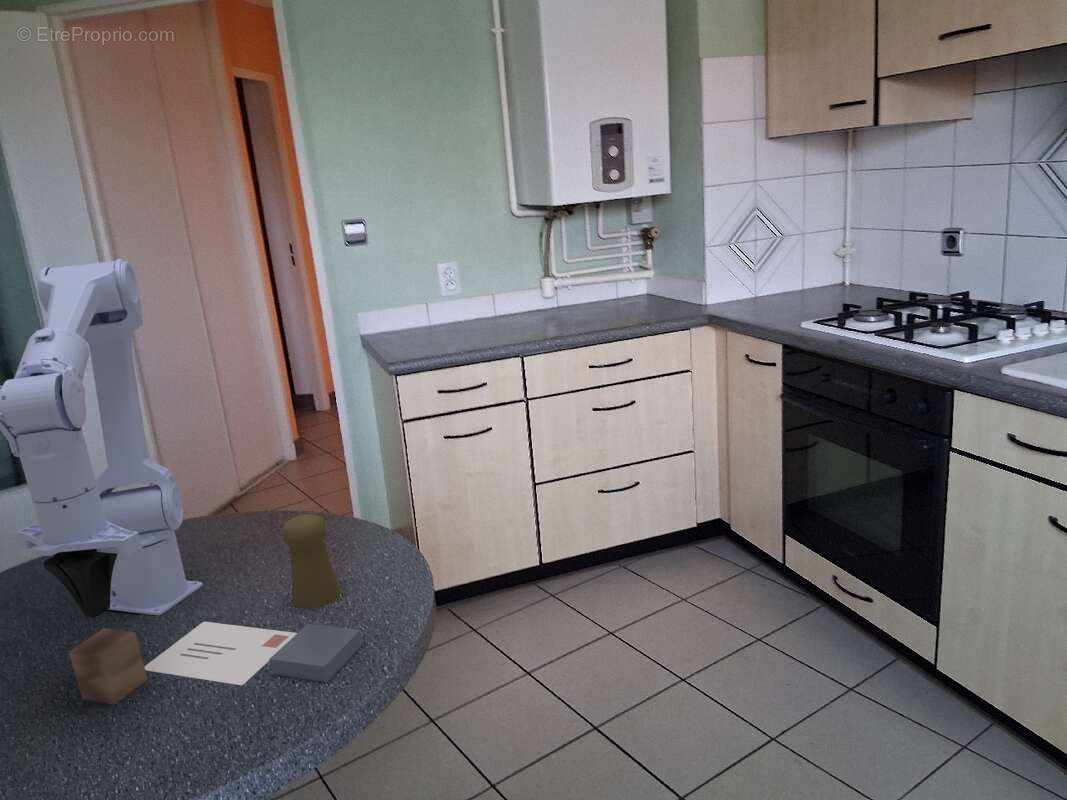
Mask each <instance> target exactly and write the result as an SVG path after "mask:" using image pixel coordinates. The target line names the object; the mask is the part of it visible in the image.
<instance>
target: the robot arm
mask: <svg viewBox="0 0 1067 800" xmlns="http://www.w3.org/2000/svg"><path fill="white" fill-rule="evenodd" d="M36 287H37V288H36V289H37V293H38V297H39V301H40V304H41V305H42V307H43V310H44V311H45V312H46V317H45V321H44V323H45V324H44V327H43V328H42V329H37V330H36V331H35V332H34V333H33V334H31V336H30V337H29V339H28V341H27V343H26V347H25V349H24V350H23V353H22V357H21V359H20V362H19V364H18V367H17V370H16V372H15V375H14V377H13V378H10V379H7V380H6V381H5V380H4V381H5V382H4V383H3V385H0V432H1V433H2V435H3V436H4V437H5V438H6V440H7V442H8V444H9V447H10V451H11V454H13V456H14V457H17V458H19V459H20V462H21V466H22V469H23V472H24V476H25V480H26V483H27V486H28V491H29V494H30V497H31V500H32V504H33V508H34V510H35V514H36V518H37V521H38V524H37V523H36V524H35V523H32V524H30V525H28V526H25V527H24V528H22V529H20V530H18V531H17V532H16V535H17V539H18V542H19V545H20V549H23V550H30V549H31V548H33V547H35V548H36V549H35V551H36V554H37V555H38V556H43V557H44V556H45V557H49V558H47V559H46V560H45V561H44V562H43V567H44V569H45V570H47V571H48V572H49V573H51V574H52V575H53V576H54V578H57V580H58V581H59V582H60V583H61V584H62V585H63V586H64V587H65V588H66V590H67V591H68V592H69V594H70V595H71V597H72V598H73V599H74V601H75V603H76V604H77V606H78V607H79V609H80V610H81V612H82V614H83V615H84V616H85V617H88V618H97V617H98V616H101V615H102V614H103V613H105V612H106V611H108V610H111V611H119V612H124V613H125V612H127V613H134V614H141V615H142V614H144V615H149V616H150V615H151V616H152V615H153V616H160V615H163V614H164V613H166V612H167V611H169V610H170V609H172V608H173V607H174V606H176V605H177V604H179V603H181V602H182V601H183V600H185V599H186V598H187V597H188V596H190V595H191V594H193V593H194V592H196V591H197V590H199V589H200V588H201V587H203V585H204V584H203V582H202V581H196V580H195V581H194V580H187V578H186V574H185V570H184V566H183V562H182V561H183V560H182V558H181V554H180V548H179V545H178V539H177V537H176V532H175V531H177V530H178V529H180V526H181V525H182V523H183V521H184V506H183V500H182V496H181V492H180V490H179V487H178V484H177V478H176V476H175V474H174V472H173V471H171V469H169V468H167V467H166V466H163V465H161V464H159V463H157V462H155V461H154V460H151V459H150V458H149V452H148V447H147V440H146V433H145V426H144V421H143V420H144V419H143V414H142V407H141V400H140V396H139V395H140V394H139V388H138V383H137V374H136V369H135V360H134V356H133V342H132V341H133V338H132V337H133V336H132V335H133V333H134V332H136V331H137V330H138V329H140V328H141V327H143V325H144V323H143V317H144V315H143V314H144V313H143V306H142V301H141V294H140V288H139V283H138V280H137V276H136V274H135V271H134V269H133V267H132V266H131V264H130V263H129V262H127V261H126V260H125V259H123V258H118V259H116V260H113V261H103V262H93V263H84V264H78V265H77V264H75V265H68V266H67V265H66V266H58V267H52V266H44V267H42V269H41V270H40V272H39V274H38V276H37V281H36ZM89 357H90V358H91V367H92V373H93V379H94V387H95V393H96V399H97V405H98V412H99V419H100V424H101V431H102V437H103V438H102V439H103V444H104V449H105V450H104V451H105V456H106V457H105V458H106V463H107V467H106V469H105V470H103V472H102V473H100V474H99V475H98V477H95V473H94V470H93V466H92V461H91V458H90V454H89V449H88V447H87V443H86V440H85V439H86V438H85V435H84V431H83V428H82V427H83V426H84V424H85V421H86V418H87V408H86V407H87V406H86V388H85V386H84V384H83V379H84V377H85V373H86V368H87V366H88V365H87V364H88V361H89ZM144 483H153V485H152V484H151V485H147V486H142V487H135V488H130V489H123V490H117V491H114V490H115V489H117V488H120V487H126V486H132V485H133V486H134V485H139V484H144Z"/></svg>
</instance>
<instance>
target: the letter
mask: <svg viewBox="0 0 1067 800" xmlns="http://www.w3.org/2000/svg"><path fill="white" fill-rule="evenodd" d="M297 633H298V632H291V631H283V630H275V629H268V628H261V627H259V628H258V627H252V626H251V627H250V626H245V625H244V626H243V625H235V624H227V623H219V622H211V621H203V622H201V623H200V624H198V626H196V627H195V628H193V629H192V630H191V631H189V632H188V633H187V634H185V635H184V636H183V637H181V638H180V639H179V640H177V641H176V642H175V643H173V644H172V645H171V646H170V647H168V648H166V649H165V651H163V652H161V653H160V654H159V655H158V656H156V657H155V658H154V659H152V660H151V661H150V662H148V663H147V664H146V665H144V667H145V671H146V672H153V673H159V674H167V675H173V676H178V677H184V678H190V679H191V678H192V679H199V680H205V681H211V682H216V683H217V682H218V683H224V684H230V685H237V686H244V684H246V683H247V682H248V681H249V680H250V679H251V678H252V677H254V676H255V675H256V673H258V672H259V671H260V670H261V669H262V668H263V667H264V666H265V665H267V664H268V663H270V660H269V659H270V658H271V657H272V656H273V655H274V654H275V653H276V652H278V651H279V650H280V649H281V648H282V647H283V646H284V645H285V644H286V643H287V642H288V641H290V640H291V639H292V638H293V637H294V636H295V635H296V634H297Z"/></svg>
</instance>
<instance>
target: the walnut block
mask: <svg viewBox="0 0 1067 800" xmlns="http://www.w3.org/2000/svg"><path fill="white" fill-rule="evenodd" d="M68 654H69V658H70V660H71V664H72V668H73V671H74V674H75V679H76V681H77V685H78V687H79V691H80V695H81V698H82V700H86V701H92V702H97V703H102V704H108V705H114V706H115V705H117V704H118V703H119V702H120V701H122V699H124V698H126V697H127V696H128V695H129V694H131V692H133V691H134V690H135V689H137V688H138V687H139V686H141V685H142V684H143V683H145V682H146V681H147V680H148V676H147V671H146V670H145V662H144V660H143V656H142V652H141V648H140V644H139V641H138V638H137V633H136V632H133V631H127V630H125V631H124V630H118V629H111V628H106V627H105V628H102V629H101V630H99V631H98V632H96V633H95V634H94V635H92V636H91V637H89V638H87V639H86V640H84V641H83V642H81V643H80V644H79V645H77V646H76V647H74V648H72V649H70V650H69V651H68Z"/></svg>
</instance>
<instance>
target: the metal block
mask: <svg viewBox="0 0 1067 800" xmlns="http://www.w3.org/2000/svg"><path fill="white" fill-rule="evenodd" d="M296 633H297V634H296V635H295V636H294V637H293V638H292V639H291V640H290V641H288V642H287V643H286V644H285V645H284V646H283V647H282V648H281V649H280V650H279V651H278V652H276V653H275V654H274V655H273V656H272V657H271V658H270V659H269V660H270V661H269V663H270V664H269V666H270V669H271V674H272V675H274V676H280V677H281V676H282V677H289V678H295V679H301V680H308V681H316V682H321V683H329V682H330V681H331V679H333V677H334V676H335V675H336V674H337V673H339V671H340V670H341V669H342V668H343V667H344V666H345V665H346V664H347V662H349V661H350V660H351V659H352V657H353V656H354V655H355V654H356V653H357V652H358V651H359V650H361V649H360V648H361V647H362V646H363V645H364V643H363V637H362V633H361V629H355V628H346V627H339V626H330V625H329V626H328V625H322V624H313V623H307V624H306V625H304V626H303V627H302V628H301V629H300V630H299V631H298V632H296Z"/></svg>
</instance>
